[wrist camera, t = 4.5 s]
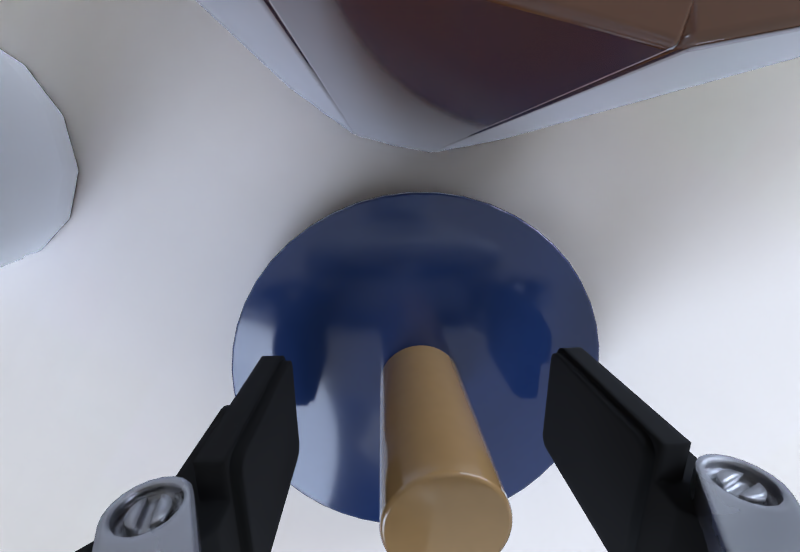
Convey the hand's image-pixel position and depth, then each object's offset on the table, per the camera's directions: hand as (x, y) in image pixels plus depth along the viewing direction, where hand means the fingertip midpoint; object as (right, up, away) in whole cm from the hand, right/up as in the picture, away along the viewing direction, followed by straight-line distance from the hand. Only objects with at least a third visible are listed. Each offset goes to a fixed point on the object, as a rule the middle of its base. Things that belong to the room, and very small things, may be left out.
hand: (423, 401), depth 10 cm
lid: (0, 0, +2) cm, 2 cm away
